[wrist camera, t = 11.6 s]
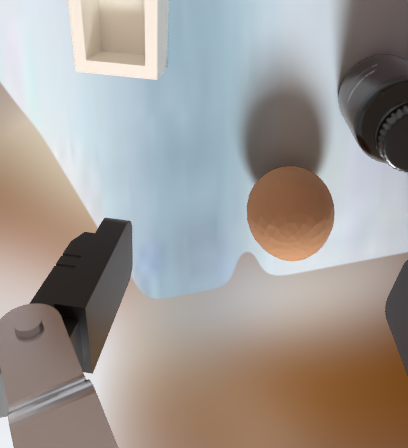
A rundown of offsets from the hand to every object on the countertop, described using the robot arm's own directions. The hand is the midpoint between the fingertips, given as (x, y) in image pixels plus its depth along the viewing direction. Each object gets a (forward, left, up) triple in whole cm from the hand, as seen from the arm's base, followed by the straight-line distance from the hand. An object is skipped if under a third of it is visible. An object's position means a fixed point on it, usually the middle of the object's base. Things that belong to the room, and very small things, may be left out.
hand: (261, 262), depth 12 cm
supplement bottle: (-11, +2, -30) cm, 32 cm away
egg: (-5, +12, -30) cm, 32 cm away
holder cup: (+12, -2, -29) cm, 32 cm away
